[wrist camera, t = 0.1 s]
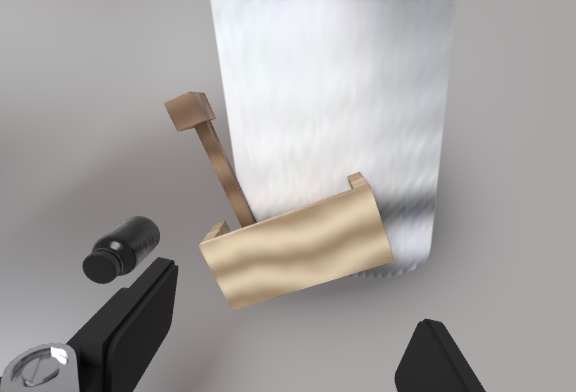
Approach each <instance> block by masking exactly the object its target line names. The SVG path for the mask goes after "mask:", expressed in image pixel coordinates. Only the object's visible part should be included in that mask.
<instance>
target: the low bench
mask: <svg viewBox="0 0 576 392" xmlns="http://www.w3.org/2000/svg"><path fill="white" fill-rule="evenodd" d="M347 177H348V180H349V183H350V186H351V188H352V190H349V191H346V192H344V193H341V194H338V195H335V196H332V197H329V198H327V199H324V200H321V201H318V202H315V203H312V204H309V205H307V206H304V207H301V208H298V209H295V210H292V211H290V212H287V213H284V214H281V215H278V216H275V217H272V218H270V219H267V220H264V221H261V222H258V223H255V224H253V225H250V226H247V227H244V228H241V229H238V230H236V231H233V232H230V233H229V231H230V229H229V227H228V225H227V223H226V221H222V222H219V223H217V224H215V225H214V226H213V227H212V229H211V230H210V231H209V233H208V234H207V235H206V237H205V238H204V240H203V241H202V242H201V244H200V245H199V248H200V250H201V252H202V254H203V255H204V257H205V259H206V261H207V263H208V265H209V266H210V269H211V271H212V272H213V274H214V276H215V278H216V280H217V282H218V284H219V286H220V287H221V289H222V291H223V293H224V295H225V297H226V299H227V301H228V302H229V304H230V306H231V308H232V310H235V309H239V308H242V307H245V306H248V305H252V304H255V303H258V302H262V301H265V300H268V299H272V298H275V297H278V296H281V295H285V294H288V293H291V292H294V291H298V290H301V289H304V288H308V287H311V286H314V285H317V284H321V283H324V282H328V281H331V280H334V279H338V278H341V277H344V276H347V275H351V274H354V273H357V272H361V271H364V270H367V269H370V268H374V267H377V266H380V265H384V264H387V263H390V262H394V261H395V260H394V257H393V254H392V251H391V248H390V245H389V242H388V239H387V236H386V233H385V230H384V227H383V224H382V221H381V218H380V214H379V211H378V208H377V205H376V202H375V199H374V196H373V193H372V190H371V187H370V185H369V184H368V183H367V181H366V180H365V179H364V177H363V176H362V175H361V174H360V172H358V173H355V174H353V175H350V176H347Z"/></svg>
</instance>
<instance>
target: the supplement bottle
mask: <svg viewBox="0 0 576 392" xmlns="http://www.w3.org/2000/svg"><path fill="white" fill-rule="evenodd" d="M159 240H160V233H159V230H158V227H157V226H156V224H155V223H154V222H153V221H151V220H150V219H148V218H146V217H141V216H134V217H131V218H129V219H127V220H126V221H124V222H123V223H121V224H120V225H119V226H117V227H116V228H114V229H113V230H111V231H110V232H108V233H107V234H106V235H104V236H103V237H101V238H100V239H99V240H98V241H97V242H96V243H95V244H94V246H93V249H92V253H91V254H90V255H89V256H87V257H86V258H85V260H84V261H83V266H82V267H83V271H84V273H85V275H86V276H87V277H88V278H89V279H90V280H92V281H94V282H96V283H99V284H104V283H105V284H106V283H109V282H111V281H113V280H114V279H115V278H116V277H117V276H122V275H126V274H128V273H130V272H131V271H132V270H134V269H135V268H136V267H137V266H138V265H139V263H140V262H141V261H142V260H143V259H144V258H145V257H146V256H147V255H148V254H149V253H150V252H151V251H152V250H153V249H154V248H155V247H156V245H157V244H158V243H159Z"/></svg>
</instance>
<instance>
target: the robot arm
mask: <svg viewBox="0 0 576 392" xmlns="http://www.w3.org/2000/svg"><path fill="white" fill-rule="evenodd" d="M177 276H178V266H177V265H174V261H173V260H169V259H165V258H160V257H158V258H157V259H156V260H155V261H154V262H153V263H152V264H151V265H150V266H149V267H148V268H147V269H146V270H145V271H144V273H143V274H142V275H141V276H140V277H139V278H138V279H137V280H136V281H135V282H134V283H133V284H132V285H131V286H130V287H129V288H121V289H120V290H119V291H118V292H117V293H116V294H115V295H114V296H113V297H112V298H111V299H110V300H109V301H108V302H107V303H106V304H105V305H104V306H103V307H102V308H101V309H100V310H99V311H98V312H97V313H96V314H95V315H94V316H93V317H92V318H91V319H90V320H89V321H88V322H87V323H86V324H85V325H84V326H83V327H82V328H81V329H80V330H79V331H78V332H77V333H76V334H75V335H74V336H73V337H72V338H71V339H70V340H69V341H68V342H67V343H66V344H62V343H49V344H43V345H39V346H37V347H34V348H31V349H29V350H27V351H25V352H23V353H22V354H20V355H18V356H17V357H16V358H15V359H13V360H12V361H11V362H10V363H9V365H8V366H7V367H6V368H5V370H4V372H3V375H2V377H0V392H133V391H134V389H135V387H136V385H137V384H138V382H139V380H140V379H141V377H142V375H143V374H144V372H145V370H146V369H147V367H148V365H149V363H150V362H151V360H152V358H153V357H154V355H155V353H156V352H157V350H158V348H159V347H160V345H161V343H162V342H163V340H164V338H165V337H166V335H167V333H168V331H169V329H170V326H171V322H172V314H173V306H174V299H175V292H176V284H177ZM395 385H396V388H397V391H398V392H486V391H485V390H484V388H483V386H482V385H481V383H480V382H479V380H478V378H477V377H476V375H475V374H474V372H473V370H472V369H471V367H470V366H469V364H468V362H467V361H466V359H465V358H464V356H463V354H462V353H461V351H460V350H459V348H458V346H457V345H456V343H455V342H454V340H453V338H452V337H451V335H450V334H449V332H448V330H447V329H446V327H445V326H444V324H443V323H442V322H439V321H434V320H430V319H424V320H423V321H422V322H419V323H418V324H417V327H416V329H415V331H414V333H413V336H412V338H411V340H410V342H409V344H408V346H407V349H406V351H405V353H404V355H403V357H402V360H401V362H400V364H399V366H398V368H397V371H396V373H395Z"/></svg>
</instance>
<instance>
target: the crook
mask: <svg viewBox="0 0 576 392" xmlns="http://www.w3.org/2000/svg"><path fill="white" fill-rule="evenodd" d="M164 105H165V107H166V109H167V111H168V113H169V115H170V117H171V119H172V121H173V123H174V125H175V127H176V129H177V131H183V130H187V129H191V128H194V127H195V129H196V131H197V133H198V135H199V138H200V140H201V142H202V144H203V146H204V148H205V150H206V152H207V154H208V156H209V158H210V160H211V163H212V165H213V167H214V169H215V171H216V173H217V175H218V177H219V179H220V182H221V184H222V186H223V188H224V190H225V192H226V194H227V196H228V199H229V201H230V203H231V205H232V207H233V209H234V211H235V213H236V215H237V217H238V220H239V222H240V224H241V226H242V228H244V227H247V226H250V225H253V224H255V223H257V222H256V220H255V218H254V215H253V213H252V211H251V209H250V207H249V205H248V202H247V200H246V198H245V196H244V194H243V191H242V189H241V187H240V185H239V183H238V181H237V178H236V176H235V174H234V172H233V170H232V167H231V166H230V163H229V161H228V159H227V156H226V155H225V152H224V150H223V148H222V146H221V144H220V141H219V139H218V137H217V135H216V132H215V130H214V128H213V126H212V124H211V122H210V121H211V120H213V119H215V115H214V113H213V111H212V109H211V106H210V104H209V102H208V100H207V98H206V95H205V93H198V92H188V93H186V94H183V95H181V96H179V97H177V98H175V99H172V100H170V101H168V102H166V103H164Z"/></svg>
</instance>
